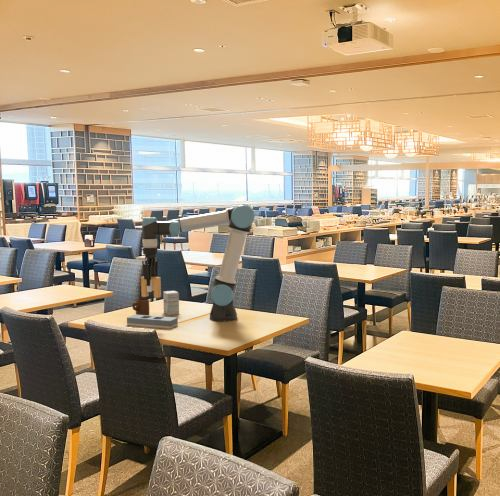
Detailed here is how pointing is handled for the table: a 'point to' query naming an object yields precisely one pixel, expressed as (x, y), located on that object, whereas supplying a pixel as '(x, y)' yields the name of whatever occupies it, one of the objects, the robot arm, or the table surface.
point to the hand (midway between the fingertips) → (151, 291)
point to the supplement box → (171, 302)
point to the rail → (152, 321)
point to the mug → (141, 306)
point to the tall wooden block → (157, 287)
